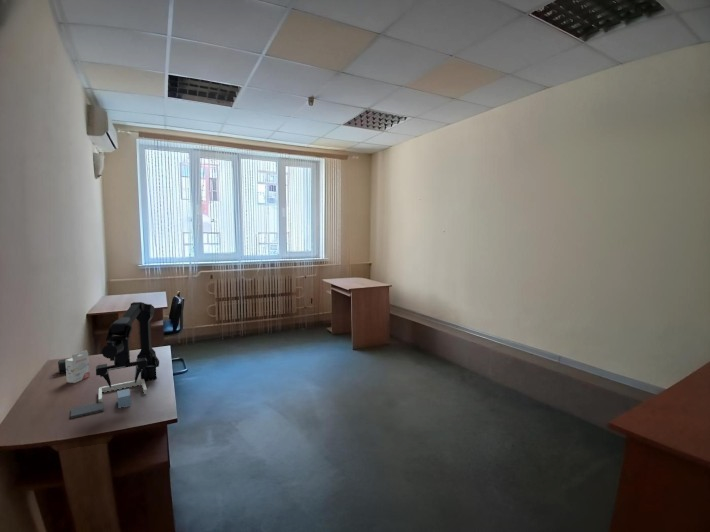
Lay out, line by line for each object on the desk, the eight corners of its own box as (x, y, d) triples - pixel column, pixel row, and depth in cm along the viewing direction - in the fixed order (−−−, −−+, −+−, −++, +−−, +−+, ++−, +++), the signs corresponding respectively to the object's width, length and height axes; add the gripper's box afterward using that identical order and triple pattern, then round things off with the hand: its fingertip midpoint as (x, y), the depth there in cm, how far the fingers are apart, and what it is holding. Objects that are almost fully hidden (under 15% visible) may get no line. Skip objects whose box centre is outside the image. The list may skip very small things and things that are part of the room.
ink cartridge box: (82, 375, 185) (80, 348, 184) (90, 376, 184) (88, 349, 183) (66, 382, 177) (64, 354, 175) (74, 383, 176) (72, 354, 174)
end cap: (59, 375, 185) (58, 363, 184) (57, 371, 190) (57, 359, 189) (83, 370, 192) (82, 358, 191) (81, 367, 197) (80, 355, 196)
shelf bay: (144, 383, 177) (143, 378, 177) (146, 394, 166) (146, 389, 165) (99, 392, 166) (98, 387, 166) (98, 404, 155) (98, 399, 155)
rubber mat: (103, 403, 156) (103, 401, 156) (103, 411, 149) (103, 408, 149) (71, 410, 149) (71, 408, 149) (70, 418, 143) (70, 416, 143)
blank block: (129, 399, 161) (129, 388, 160) (130, 406, 154) (130, 395, 154) (117, 401, 158) (117, 391, 158) (118, 409, 152) (118, 398, 151)
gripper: (144, 342, 166) (145, 374, 167) (95, 349, 155) (97, 383, 156) (147, 348, 157) (148, 382, 158) (95, 356, 146) (96, 392, 147)
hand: (123, 384), depth 155 cm, fingers open, 9 cm apart
